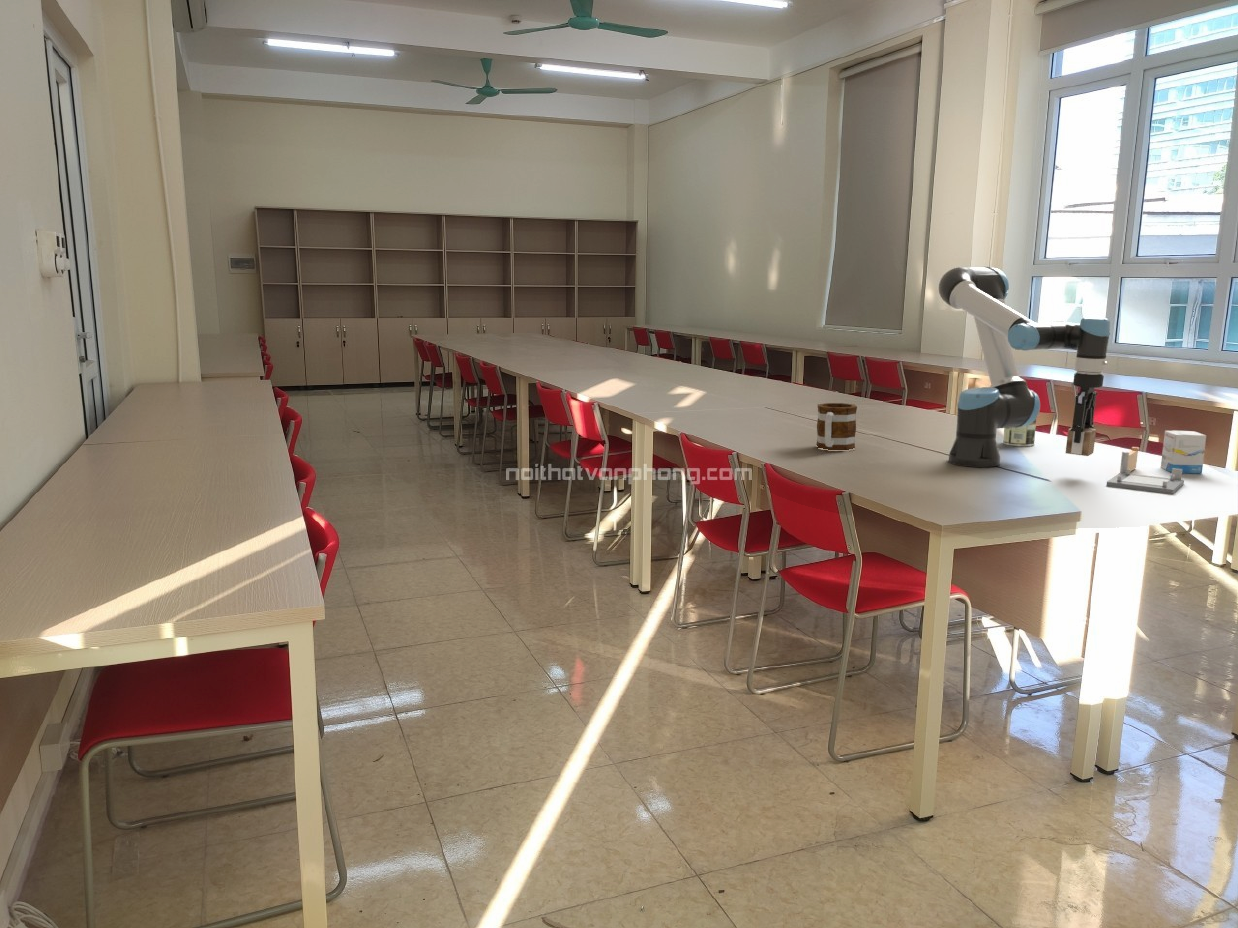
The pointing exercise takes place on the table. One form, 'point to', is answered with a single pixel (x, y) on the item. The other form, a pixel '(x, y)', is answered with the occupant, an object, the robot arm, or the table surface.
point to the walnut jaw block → (1087, 442)
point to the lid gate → (1132, 458)
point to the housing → (1145, 480)
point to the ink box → (1183, 451)
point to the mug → (836, 426)
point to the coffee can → (1020, 435)
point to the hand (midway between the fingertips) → (1079, 451)
